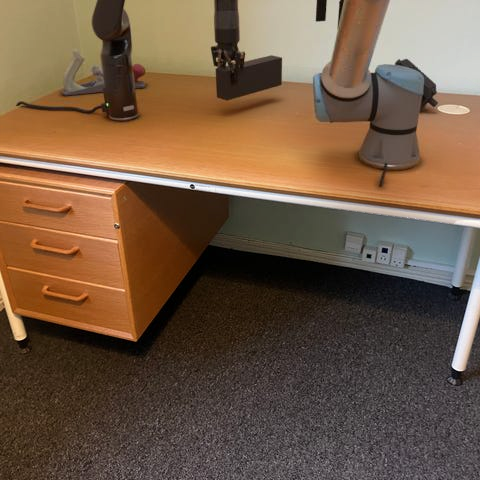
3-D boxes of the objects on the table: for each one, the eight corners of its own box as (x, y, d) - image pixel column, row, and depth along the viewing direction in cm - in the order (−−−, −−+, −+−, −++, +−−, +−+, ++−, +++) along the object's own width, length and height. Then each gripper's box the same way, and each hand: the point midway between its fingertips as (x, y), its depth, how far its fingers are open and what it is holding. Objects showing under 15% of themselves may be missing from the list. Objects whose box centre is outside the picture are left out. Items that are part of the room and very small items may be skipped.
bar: (271, 82, 183) (271, 55, 178) (281, 85, 179) (282, 57, 175) (216, 97, 169) (215, 68, 165) (226, 100, 166) (225, 71, 161)
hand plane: (62, 90, 197) (53, 48, 189) (145, 82, 205) (140, 41, 197) (62, 96, 191) (54, 53, 184) (148, 87, 199) (143, 45, 191)
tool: (377, 89, 181) (403, 52, 170) (419, 126, 177) (449, 91, 166) (368, 93, 177) (394, 56, 166) (411, 131, 173) (441, 96, 162)
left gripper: (202, 24, 161) (205, 80, 170) (232, 30, 151) (234, 90, 160) (221, 20, 165) (223, 76, 174) (252, 26, 155) (252, 85, 164)
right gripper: (303, -67, 142) (300, 18, 153) (346, -63, 122) (339, 34, 133) (329, -68, 144) (324, 16, 155) (376, -64, 124) (366, 32, 135)
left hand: (228, 82), depth 167 cm, fingers closed on bar, 5 cm apart
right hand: (331, 25), depth 144 cm, fingers open, 13 cm apart
